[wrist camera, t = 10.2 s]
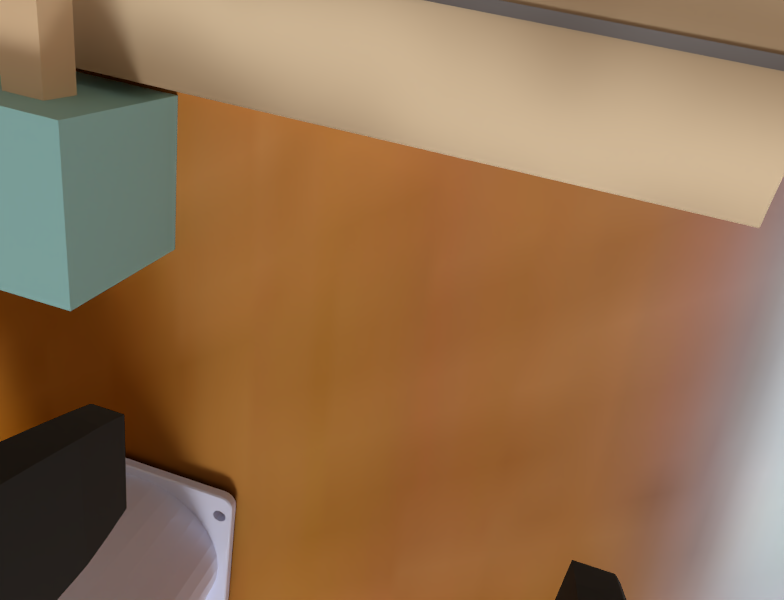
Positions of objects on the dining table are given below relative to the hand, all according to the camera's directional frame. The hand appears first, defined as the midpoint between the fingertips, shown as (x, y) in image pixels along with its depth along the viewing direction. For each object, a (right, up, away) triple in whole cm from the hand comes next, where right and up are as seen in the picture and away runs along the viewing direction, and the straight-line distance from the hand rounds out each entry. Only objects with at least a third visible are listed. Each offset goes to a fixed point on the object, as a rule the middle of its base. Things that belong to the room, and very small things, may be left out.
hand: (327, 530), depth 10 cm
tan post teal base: (-7, +11, +9) cm, 16 cm away
